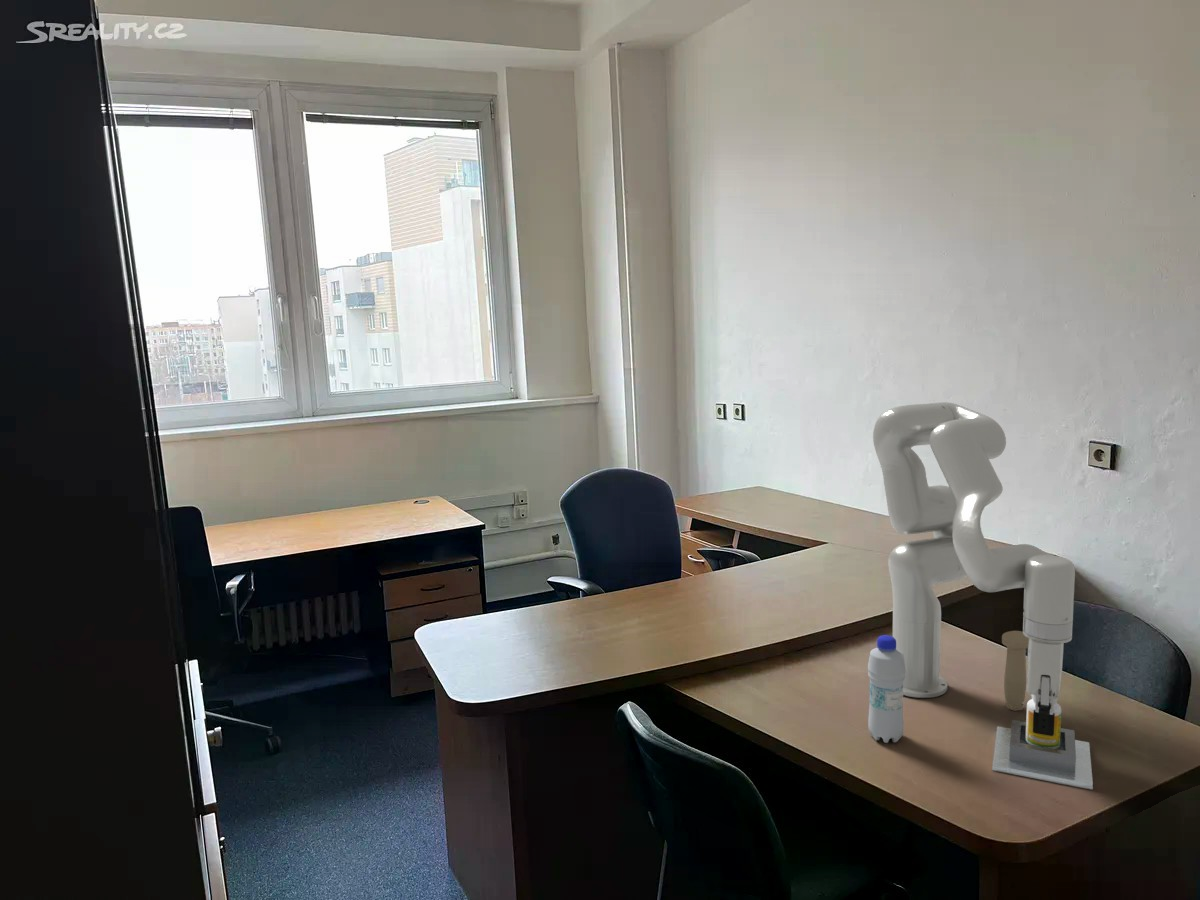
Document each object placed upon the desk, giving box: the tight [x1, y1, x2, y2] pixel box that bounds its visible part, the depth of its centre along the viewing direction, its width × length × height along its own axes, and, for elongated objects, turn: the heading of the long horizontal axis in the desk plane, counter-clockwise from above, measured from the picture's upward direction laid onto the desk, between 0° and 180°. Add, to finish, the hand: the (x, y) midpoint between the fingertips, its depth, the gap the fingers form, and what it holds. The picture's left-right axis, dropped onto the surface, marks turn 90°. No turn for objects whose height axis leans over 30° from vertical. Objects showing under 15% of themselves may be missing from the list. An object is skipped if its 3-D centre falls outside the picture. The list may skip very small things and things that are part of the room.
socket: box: [991, 719, 1094, 790], centre depth 148 cm, size 15×15×4 cm
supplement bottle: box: [1025, 688, 1062, 749], centre depth 147 cm, size 5×5×10 cm
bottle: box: [867, 634, 906, 744], centre depth 156 cm, size 7×7×20 cm
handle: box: [1001, 630, 1029, 712], centre depth 166 cm, size 5×6×15 cm
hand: (1043, 724), depth 147 cm, fingers closed on supplement bottle, 5 cm apart
